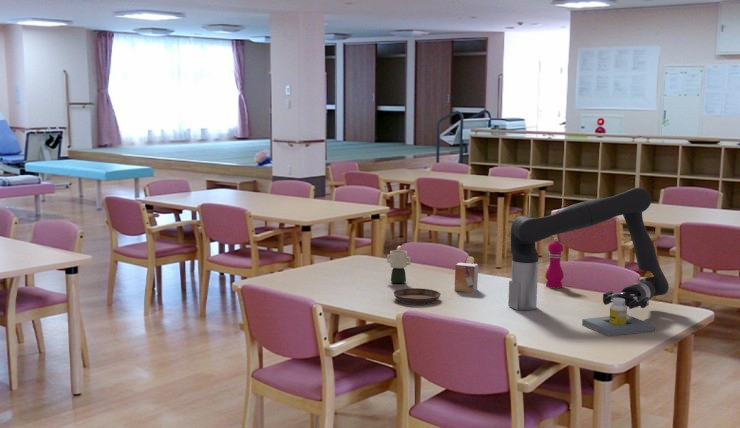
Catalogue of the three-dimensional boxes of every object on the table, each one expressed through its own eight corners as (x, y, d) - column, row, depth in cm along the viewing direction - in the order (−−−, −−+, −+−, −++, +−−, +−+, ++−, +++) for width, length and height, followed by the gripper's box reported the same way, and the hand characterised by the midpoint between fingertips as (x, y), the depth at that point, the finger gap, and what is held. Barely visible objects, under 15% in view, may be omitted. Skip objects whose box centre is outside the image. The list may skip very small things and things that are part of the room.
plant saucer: (409, 293, 320) (409, 285, 319) (449, 299, 309) (449, 291, 309) (384, 301, 305) (384, 293, 305) (424, 309, 295) (424, 300, 295)
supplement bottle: (606, 325, 275) (608, 297, 273) (622, 325, 275) (623, 296, 274) (612, 330, 269) (614, 301, 268) (628, 329, 270) (630, 300, 268)
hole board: (608, 336, 262) (609, 330, 262) (582, 324, 275) (582, 319, 275) (653, 330, 269) (654, 324, 269) (625, 320, 282) (626, 314, 281)
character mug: (414, 282, 336) (414, 251, 334) (405, 286, 330) (406, 254, 328) (391, 279, 342) (391, 248, 340) (382, 282, 336) (382, 251, 334)
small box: (454, 290, 323) (454, 264, 321) (458, 287, 328) (458, 262, 326) (473, 292, 320) (474, 266, 318) (477, 289, 325) (478, 263, 323)
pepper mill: (563, 288, 328) (565, 239, 325) (545, 287, 329) (546, 238, 326) (562, 285, 335) (564, 236, 332) (544, 284, 336) (546, 235, 333)
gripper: (616, 281, 286) (597, 289, 274) (657, 287, 277) (639, 295, 265) (615, 302, 287) (596, 311, 275) (655, 308, 279) (638, 318, 266)
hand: (617, 303), depth 270 cm, fingers open, 8 cm apart
